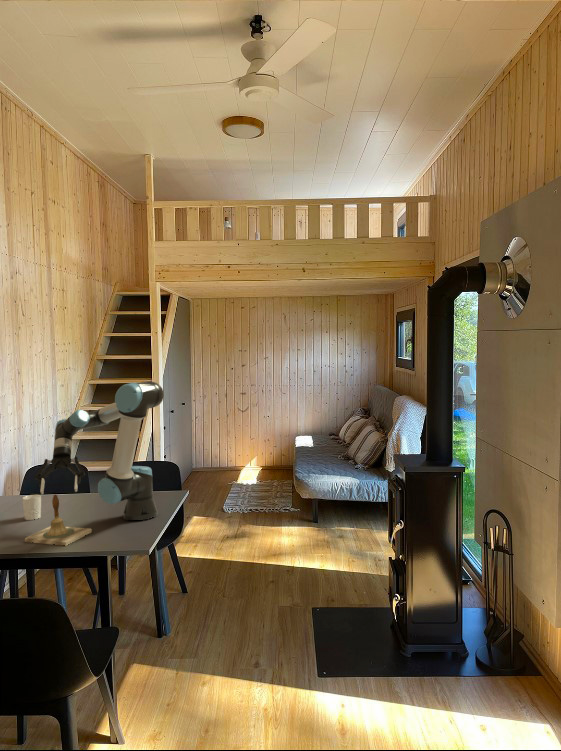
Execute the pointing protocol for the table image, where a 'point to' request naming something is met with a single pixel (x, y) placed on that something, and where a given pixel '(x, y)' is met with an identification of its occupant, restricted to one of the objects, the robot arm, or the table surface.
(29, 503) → the white cup
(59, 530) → the hand bell
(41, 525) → the table surface
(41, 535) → the bell board
